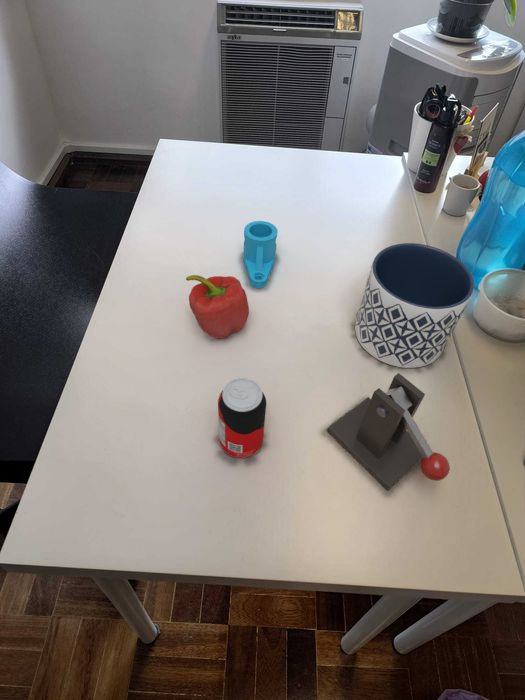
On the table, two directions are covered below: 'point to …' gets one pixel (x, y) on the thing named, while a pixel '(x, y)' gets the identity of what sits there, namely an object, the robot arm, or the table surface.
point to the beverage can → (241, 417)
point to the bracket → (259, 251)
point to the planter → (412, 304)
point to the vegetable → (219, 304)
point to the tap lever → (420, 440)
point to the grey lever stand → (381, 434)
